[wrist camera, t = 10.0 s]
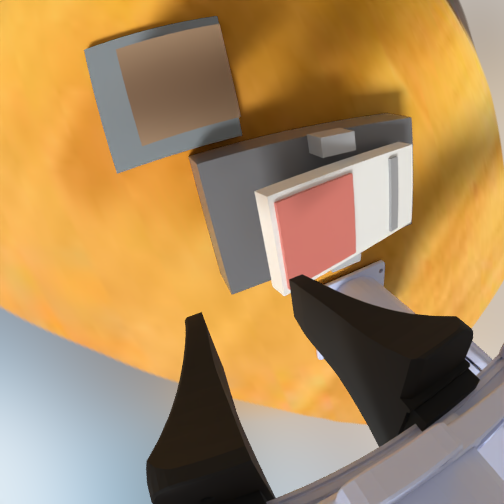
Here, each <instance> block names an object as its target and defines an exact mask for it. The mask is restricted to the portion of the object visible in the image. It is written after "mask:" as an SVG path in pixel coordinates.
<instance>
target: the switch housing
mask: <svg viewBox="0 0 504 504" xmlns="http://www.w3.org/2000/svg"><path fill="white" fill-rule="evenodd" d="M396 142H403V143H408V144H412V156H413V142H412V121H411V117H406V116H401V115H395V114H390V113H384V114H376V115H370V116H363V117H357V118H351V119H345V120H339V121H333V122H328V123H322V124H317V125H312V126H307V127H302V128H297V129H293V130H288V131H283V132H279V133H275V134H270V135H266V136H262V137H258V138H254V139H250V140H246V141H242V142H238V143H234V144H230V145H226V146H223V147H219V148H215V149H212V150H208V151H205V152H201V153H198V154H195V155H191V156H189V160H190V164H191V167H192V171H193V175H194V179H195V183H196V186H197V190H198V194H199V198H200V201H201V205H202V209H203V212H204V216H205V220H206V223H207V227H208V230H209V234H210V238H211V241H212V245H213V248H214V252H215V255H216V259H217V262H218V266H219V269H220V273H221V275H222V277H223V279H224V281H225V283H226V285H227V286H228V288H229V290H230V292H231V294H235V293H238V292H240V291H243V290H246V289H248V288H251V287H254V286H256V285H259V284H262V283H264V282H267V281H270V280H271V275H270V270H269V265H268V259H267V254H266V249H265V244H264V238H263V233H262V228H261V223H260V218H259V213H258V208H257V202H256V197H255V192H254V191H256V190H259V189H262V188H264V187H267V186H270V185H272V184H275V183H278V182H280V181H283V180H286V179H289V178H291V177H294V176H297V175H300V174H303V173H305V172H308V171H311V170H314V169H317V168H320V167H323V166H325V165H328V164H331V163H334V162H337V161H340V160H343V159H346V158H349V157H352V156H355V155H358V154H361V153H364V152H367V151H370V150H374V149H377V148H380V147H383V146H386V145H389V144H393V143H396ZM412 203H413V190H412ZM410 224H412V219H411V222H410V223H409V224H407V225H410ZM407 225H405V226H407ZM405 226H404V227H405ZM402 228H403V227H402ZM359 261H361V253H359V254H358V255H356V256H354V257H353V258H351V259H349V260H347V261H346V262H344V263H342V264H341V265H339V266H337V267H335V268H334V269H332V270H331V271H332V272H335V271H338V270H340V269H342V268H345V267H347V266H349V265H352V264H354V263H356V262H359Z"/></svg>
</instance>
